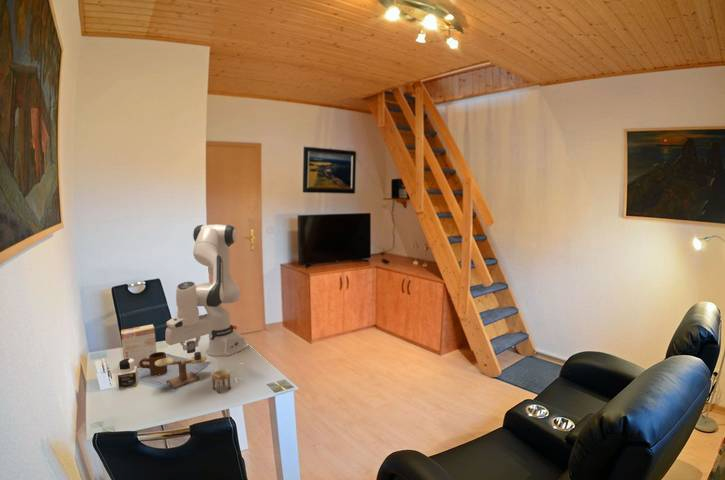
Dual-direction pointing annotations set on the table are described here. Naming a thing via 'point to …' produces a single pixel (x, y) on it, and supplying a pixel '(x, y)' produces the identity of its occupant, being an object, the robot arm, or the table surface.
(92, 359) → the table surface
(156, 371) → the mug
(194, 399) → the table surface
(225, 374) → the tan peg block
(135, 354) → the coffeecake box
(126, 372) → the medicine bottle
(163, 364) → the balance
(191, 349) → the grey domed cylinder
